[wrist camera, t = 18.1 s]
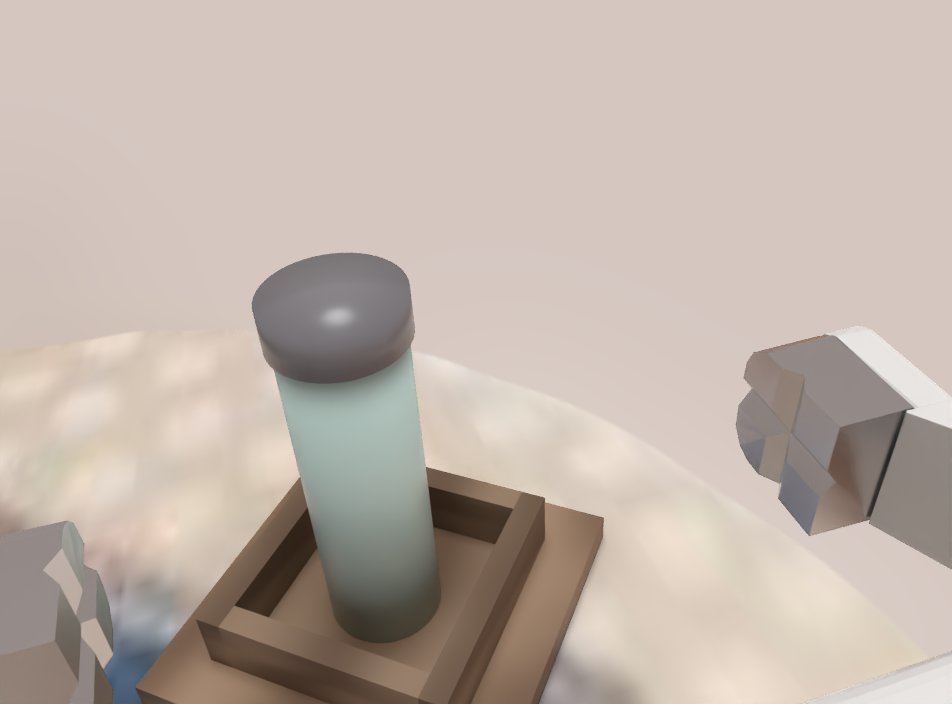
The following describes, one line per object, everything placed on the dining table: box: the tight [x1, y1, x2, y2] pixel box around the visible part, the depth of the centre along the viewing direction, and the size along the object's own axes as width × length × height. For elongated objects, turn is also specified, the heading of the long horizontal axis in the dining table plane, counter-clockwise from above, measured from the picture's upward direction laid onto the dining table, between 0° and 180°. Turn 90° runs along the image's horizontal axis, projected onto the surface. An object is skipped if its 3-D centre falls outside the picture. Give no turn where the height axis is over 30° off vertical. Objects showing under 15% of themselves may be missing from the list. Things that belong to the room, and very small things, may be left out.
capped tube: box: [252, 253, 441, 643], centre depth 32 cm, size 5×5×15 cm
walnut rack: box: [135, 467, 604, 704], centre depth 36 cm, size 14×14×4 cm
